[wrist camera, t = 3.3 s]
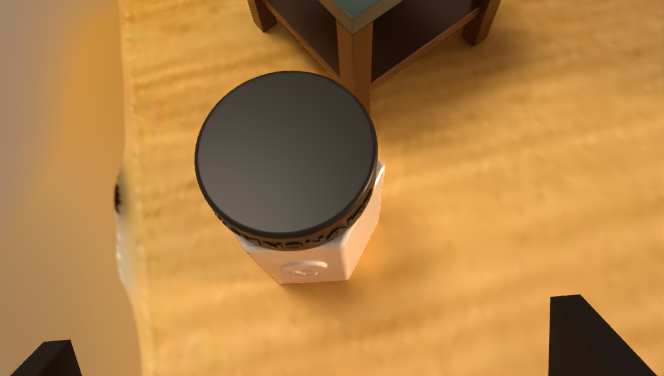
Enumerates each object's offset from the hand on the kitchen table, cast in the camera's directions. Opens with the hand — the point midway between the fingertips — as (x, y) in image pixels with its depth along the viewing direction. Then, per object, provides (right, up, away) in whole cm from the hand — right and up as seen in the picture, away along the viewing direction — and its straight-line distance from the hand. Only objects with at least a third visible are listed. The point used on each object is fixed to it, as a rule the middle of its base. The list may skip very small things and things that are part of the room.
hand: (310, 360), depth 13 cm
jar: (-1, +2, +19) cm, 19 cm away
